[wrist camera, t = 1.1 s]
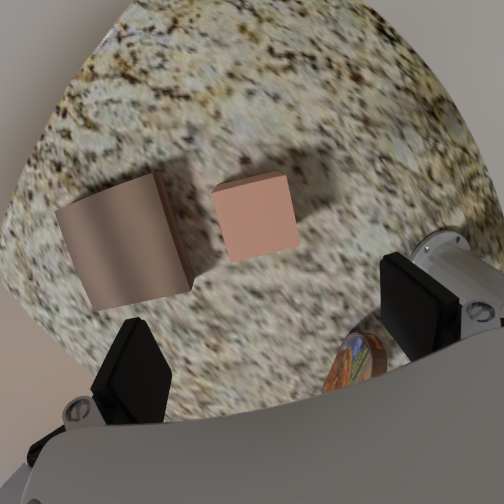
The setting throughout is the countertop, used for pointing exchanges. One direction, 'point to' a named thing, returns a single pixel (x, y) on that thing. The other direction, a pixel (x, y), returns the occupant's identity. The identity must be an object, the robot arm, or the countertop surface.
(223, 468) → the robot arm
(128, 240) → the base
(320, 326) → the countertop surface
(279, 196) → the cube
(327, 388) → the tin
